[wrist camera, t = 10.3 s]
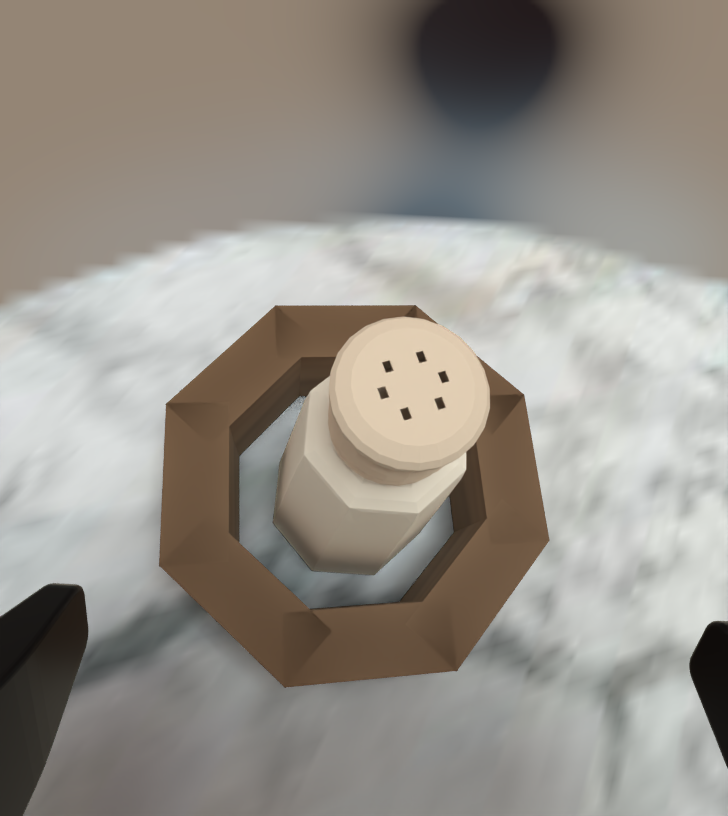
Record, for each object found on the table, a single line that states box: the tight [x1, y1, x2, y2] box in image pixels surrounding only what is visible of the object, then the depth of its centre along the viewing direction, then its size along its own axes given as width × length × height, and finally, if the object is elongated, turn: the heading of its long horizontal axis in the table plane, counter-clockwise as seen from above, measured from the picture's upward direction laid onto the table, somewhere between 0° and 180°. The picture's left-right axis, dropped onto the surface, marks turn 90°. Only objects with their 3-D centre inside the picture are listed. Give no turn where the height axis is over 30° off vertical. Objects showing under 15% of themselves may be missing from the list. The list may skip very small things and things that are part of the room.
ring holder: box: [159, 305, 549, 688], centre depth 18 cm, size 11×11×4 cm
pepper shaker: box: [273, 317, 490, 575], centre depth 15 cm, size 5×5×11 cm
